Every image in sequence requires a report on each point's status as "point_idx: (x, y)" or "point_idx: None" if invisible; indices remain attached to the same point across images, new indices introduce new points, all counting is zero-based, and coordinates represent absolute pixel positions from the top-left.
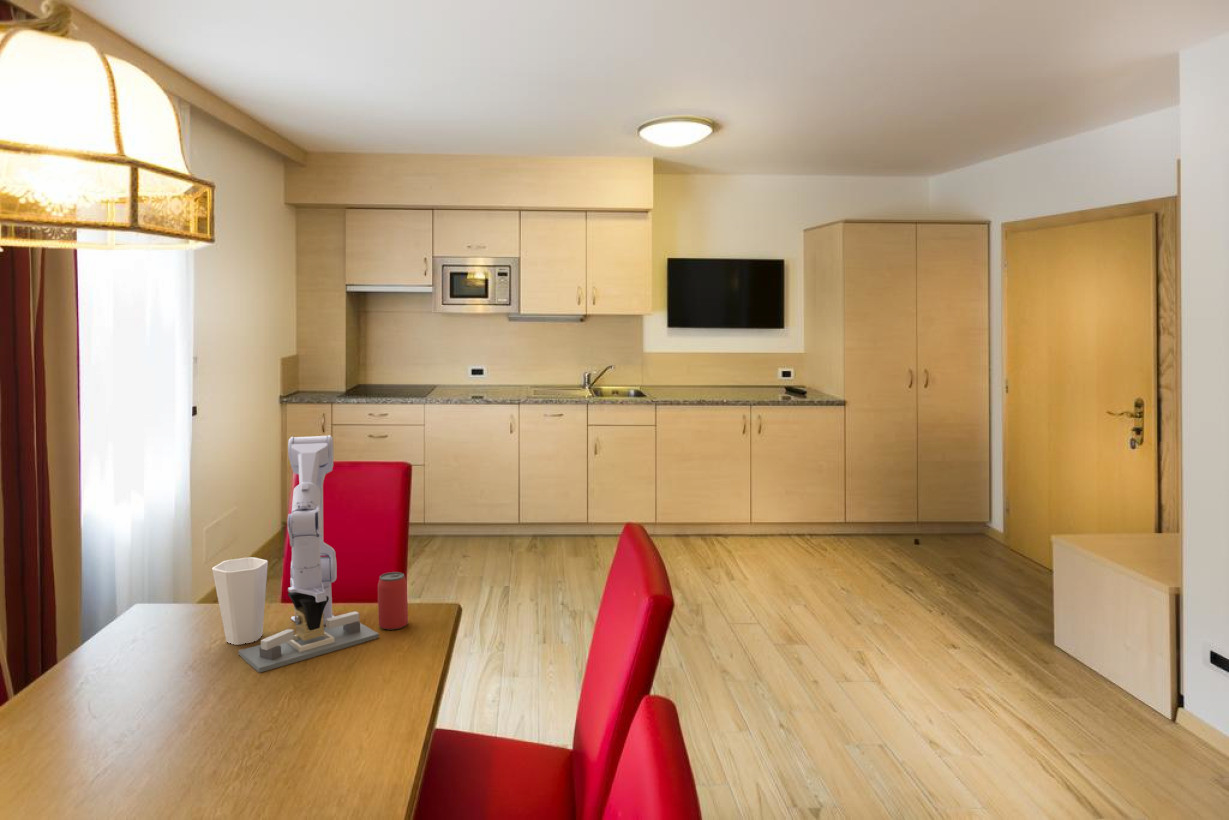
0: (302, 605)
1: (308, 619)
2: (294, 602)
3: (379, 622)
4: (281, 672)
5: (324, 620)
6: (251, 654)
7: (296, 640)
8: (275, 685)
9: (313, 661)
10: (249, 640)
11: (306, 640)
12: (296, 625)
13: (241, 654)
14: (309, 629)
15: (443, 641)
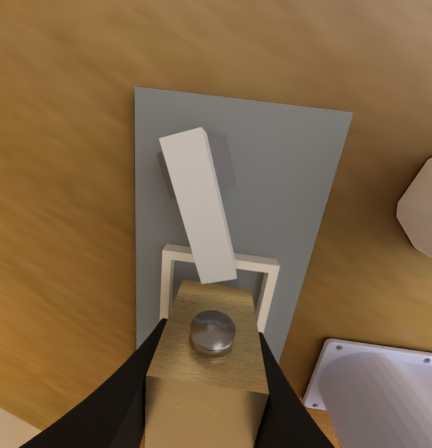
0: (99, 445)
1: (132, 355)
2: (285, 444)
3: None
4: (99, 146)
5: (321, 387)
6: (273, 128)
7: (258, 280)
8: (14, 82)
9: (114, 243)
10: (410, 195)
11: None
12: (246, 314)
13: (317, 109)
14: (166, 320)
15: (42, 430)
